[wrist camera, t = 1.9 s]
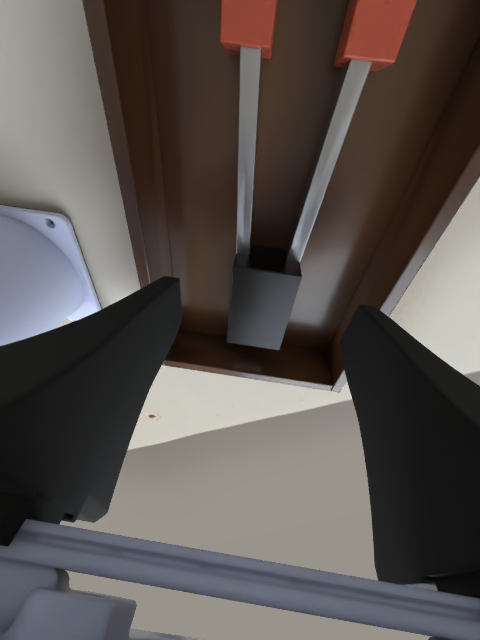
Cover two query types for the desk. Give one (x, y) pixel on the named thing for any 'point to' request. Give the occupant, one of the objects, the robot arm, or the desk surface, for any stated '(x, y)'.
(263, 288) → the tongs
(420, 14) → the tray
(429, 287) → the desk surface
